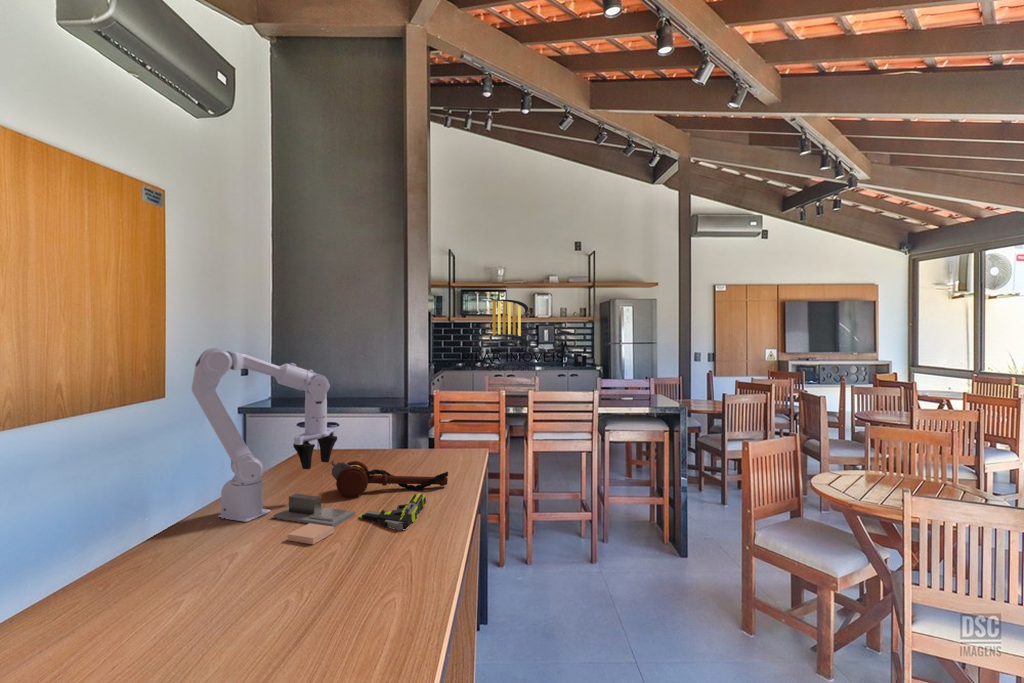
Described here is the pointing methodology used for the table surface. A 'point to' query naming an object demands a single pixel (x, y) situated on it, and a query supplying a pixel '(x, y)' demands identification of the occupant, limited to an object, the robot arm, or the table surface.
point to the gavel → (376, 478)
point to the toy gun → (398, 513)
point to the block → (310, 533)
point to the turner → (313, 507)
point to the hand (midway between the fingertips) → (316, 465)
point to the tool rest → (306, 518)
